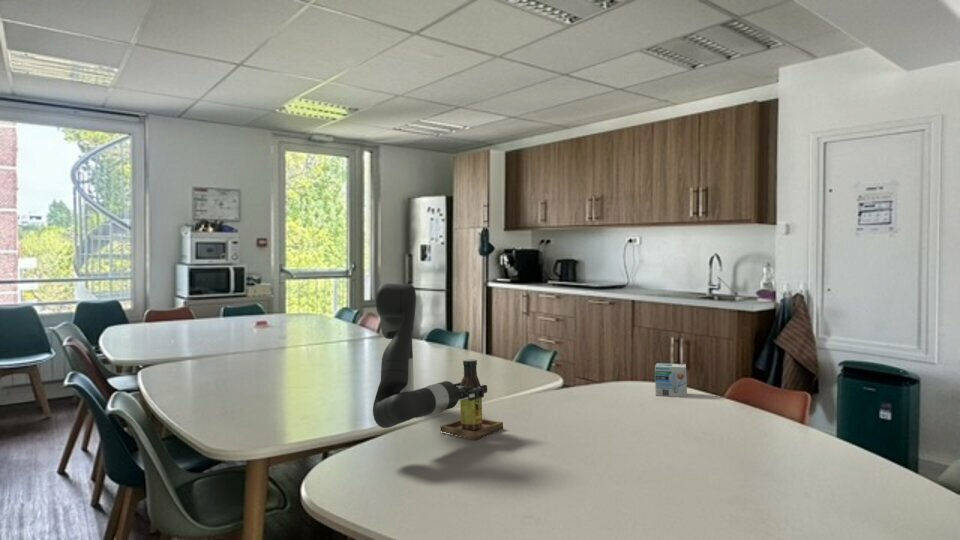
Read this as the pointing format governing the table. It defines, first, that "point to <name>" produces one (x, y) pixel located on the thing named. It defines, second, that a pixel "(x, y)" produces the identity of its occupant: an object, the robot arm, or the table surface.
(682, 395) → the light bulb box
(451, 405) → the robot arm
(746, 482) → the table surface
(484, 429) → the walnut tray
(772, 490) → the table surface
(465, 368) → the sauce bottle
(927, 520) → the table surface
